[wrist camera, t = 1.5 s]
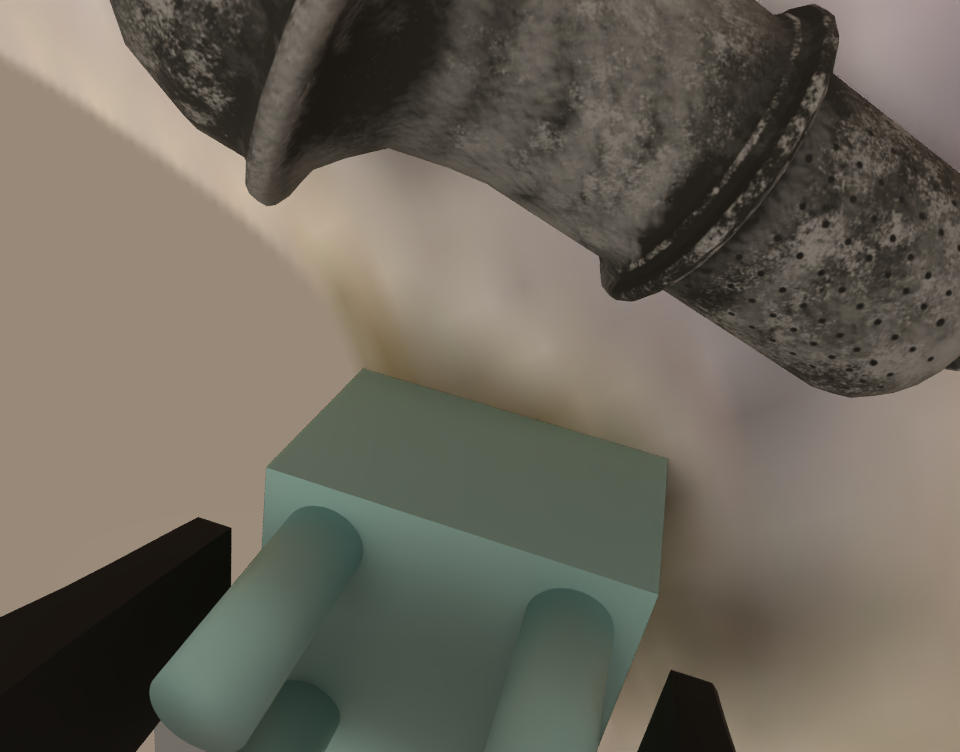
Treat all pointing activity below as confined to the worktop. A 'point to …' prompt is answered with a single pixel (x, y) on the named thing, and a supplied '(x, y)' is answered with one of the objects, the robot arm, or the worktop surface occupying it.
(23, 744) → the robot arm
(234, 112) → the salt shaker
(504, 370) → the worktop surface
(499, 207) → the worktop surface
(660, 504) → the stool
